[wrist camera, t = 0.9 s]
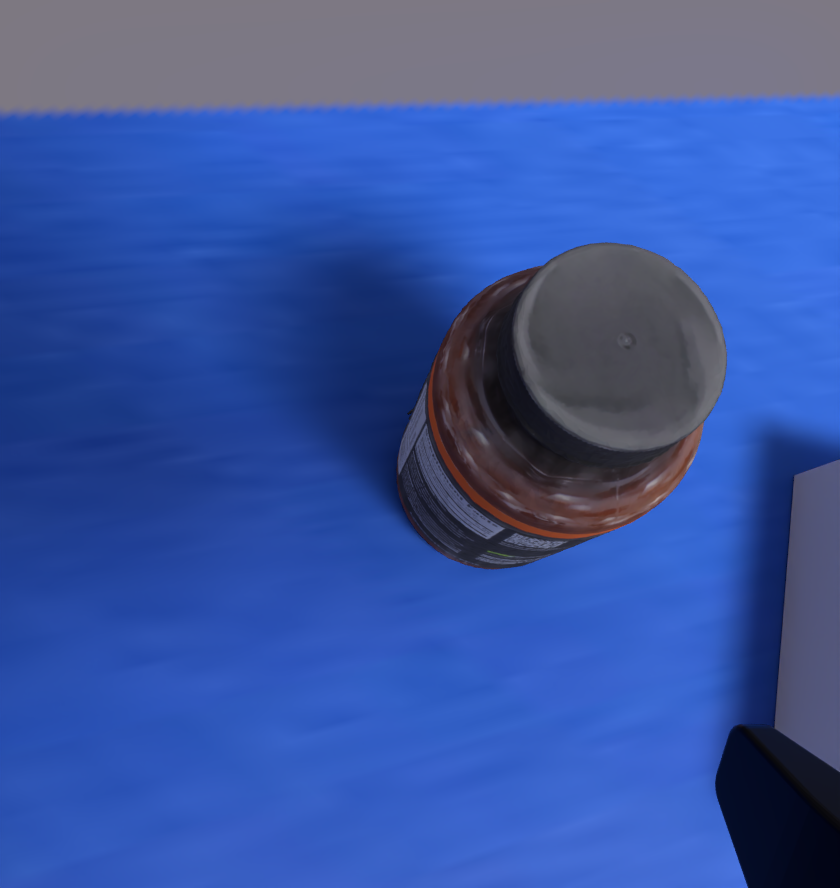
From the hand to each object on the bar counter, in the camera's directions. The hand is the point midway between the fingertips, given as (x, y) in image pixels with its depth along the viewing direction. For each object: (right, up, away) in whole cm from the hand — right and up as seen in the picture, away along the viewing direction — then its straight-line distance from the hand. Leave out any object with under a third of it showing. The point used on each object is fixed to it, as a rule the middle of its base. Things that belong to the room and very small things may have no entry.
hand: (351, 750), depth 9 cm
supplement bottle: (+3, +2, +16) cm, 16 cm away
